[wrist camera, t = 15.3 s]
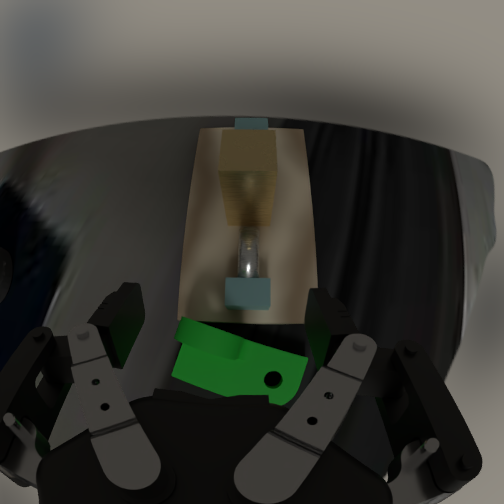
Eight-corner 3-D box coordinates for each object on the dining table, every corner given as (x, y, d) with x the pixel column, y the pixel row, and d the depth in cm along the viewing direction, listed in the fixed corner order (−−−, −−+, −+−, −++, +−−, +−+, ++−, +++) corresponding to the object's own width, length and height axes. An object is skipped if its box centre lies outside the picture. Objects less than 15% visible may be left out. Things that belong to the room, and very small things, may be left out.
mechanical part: (176, 373, 26) (150, 382, 19) (194, 322, 28) (174, 312, 20) (286, 410, 25) (299, 432, 17) (304, 357, 27) (324, 360, 19)
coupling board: (181, 321, 28) (168, 316, 23) (201, 135, 36) (197, 113, 32) (315, 323, 28) (326, 319, 23) (301, 136, 36) (306, 114, 32)
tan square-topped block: (227, 225, 30) (217, 171, 20) (229, 190, 31) (222, 129, 22) (269, 226, 30) (277, 171, 20) (269, 190, 31) (275, 130, 22)
